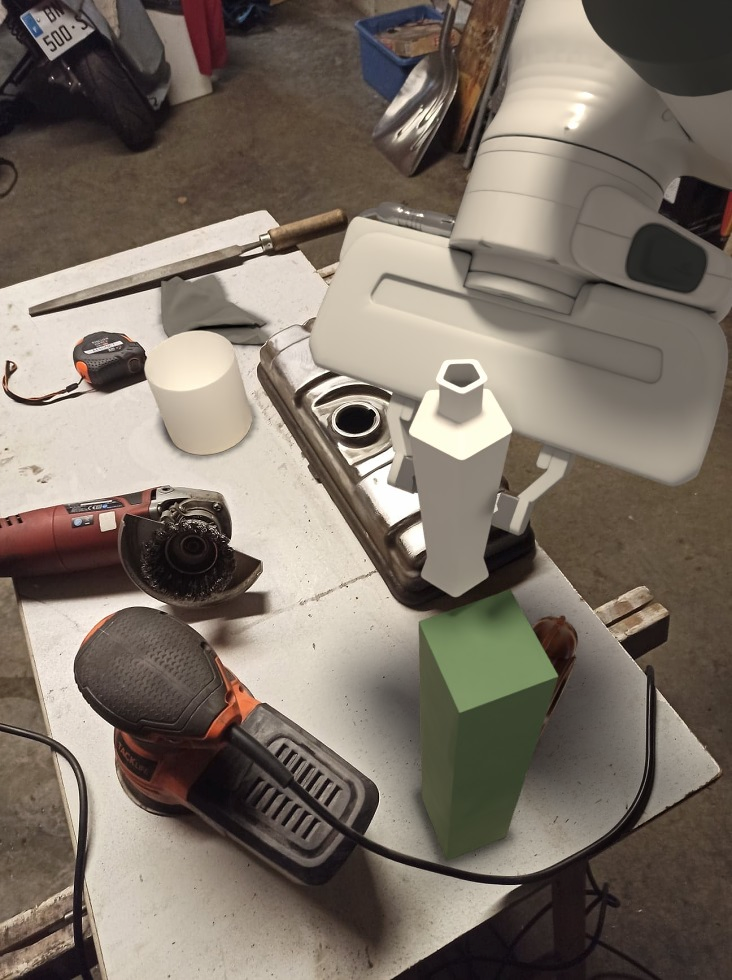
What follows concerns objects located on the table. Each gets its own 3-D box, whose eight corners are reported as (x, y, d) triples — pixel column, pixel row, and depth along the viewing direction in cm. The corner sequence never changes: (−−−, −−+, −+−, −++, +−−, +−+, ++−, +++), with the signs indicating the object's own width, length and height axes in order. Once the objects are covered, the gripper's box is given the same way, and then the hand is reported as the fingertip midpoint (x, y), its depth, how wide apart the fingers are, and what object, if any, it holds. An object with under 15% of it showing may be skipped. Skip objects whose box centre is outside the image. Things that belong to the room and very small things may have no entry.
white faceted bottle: (484, 611, 41) (503, 423, 29) (409, 590, 42) (399, 402, 31) (504, 546, 44) (529, 349, 32) (433, 528, 45) (432, 332, 33)
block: (506, 836, 68) (559, 676, 41) (446, 861, 67) (459, 713, 40) (479, 774, 72) (510, 588, 45) (421, 796, 71) (418, 621, 44)
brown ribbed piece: (523, 771, 72) (542, 711, 60) (479, 745, 74) (488, 682, 62) (569, 681, 77) (594, 610, 65) (527, 659, 79) (544, 586, 67)
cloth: (132, 296, 124) (128, 285, 122) (204, 264, 128) (201, 252, 127) (205, 379, 110) (202, 367, 108) (283, 339, 114) (281, 327, 113)
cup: (172, 400, 108) (147, 335, 98) (251, 390, 108) (235, 325, 98) (166, 460, 100) (140, 396, 91) (252, 450, 100) (234, 385, 91)
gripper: (331, 173, 36) (255, 442, 39) (780, 274, 29) (649, 599, 31) (381, 211, 42) (312, 443, 44) (765, 303, 34) (656, 575, 37)
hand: (454, 509), depth 38 cm, fingers closed on white faceted bottle, 4 cm apart
